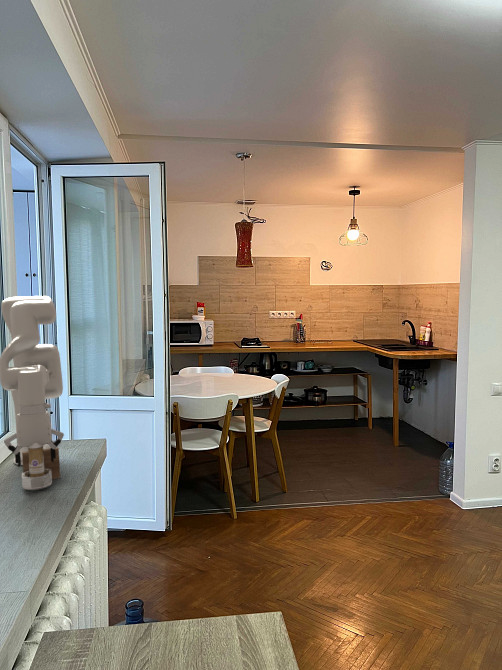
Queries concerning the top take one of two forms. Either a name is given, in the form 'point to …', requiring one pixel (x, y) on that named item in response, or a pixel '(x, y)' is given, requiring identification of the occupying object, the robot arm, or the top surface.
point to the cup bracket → (36, 480)
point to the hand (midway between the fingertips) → (36, 462)
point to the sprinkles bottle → (36, 460)
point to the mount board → (45, 462)
